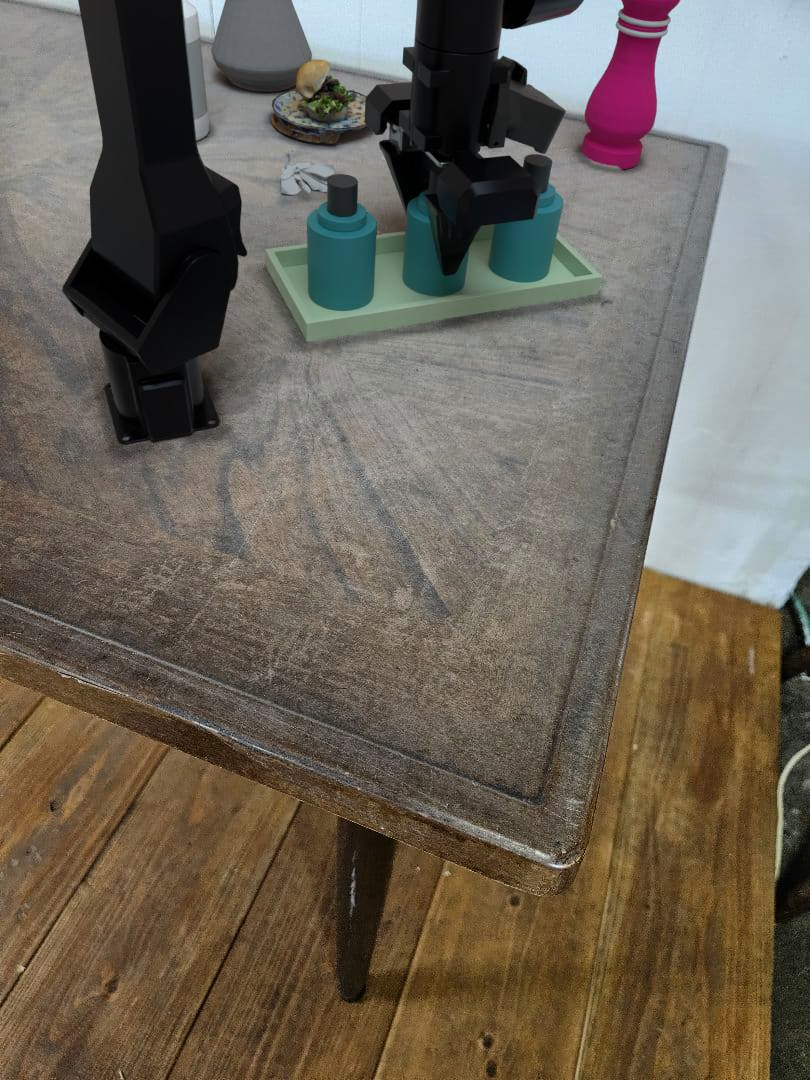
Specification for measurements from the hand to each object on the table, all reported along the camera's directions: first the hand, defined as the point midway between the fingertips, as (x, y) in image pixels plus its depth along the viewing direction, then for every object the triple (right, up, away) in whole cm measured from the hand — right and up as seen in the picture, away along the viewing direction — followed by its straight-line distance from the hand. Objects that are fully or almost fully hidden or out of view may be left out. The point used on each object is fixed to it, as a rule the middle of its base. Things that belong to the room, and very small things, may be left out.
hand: (434, 257), depth 66 cm
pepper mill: (+20, +18, +22) cm, 35 cm away
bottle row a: (+7, +1, +4) cm, 8 cm away
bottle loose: (0, -1, +2) cm, 2 cm away
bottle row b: (-7, -3, -1) cm, 8 cm away
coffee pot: (-24, +31, +30) cm, 49 cm away
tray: (0, -2, +2) cm, 3 cm away
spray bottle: (-26, +19, +19) cm, 38 cm away
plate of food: (-11, +22, +23) cm, 34 cm away
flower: (-11, +11, +12) cm, 20 cm away
